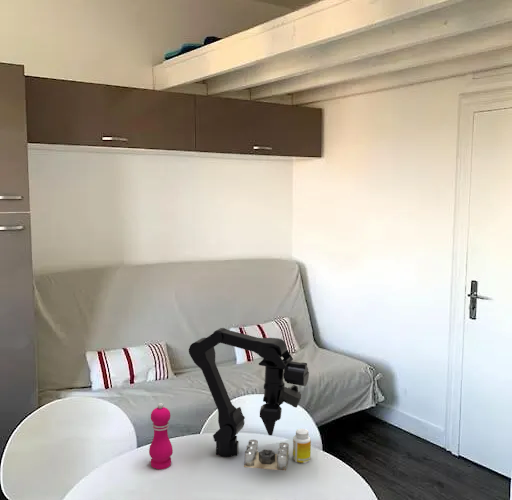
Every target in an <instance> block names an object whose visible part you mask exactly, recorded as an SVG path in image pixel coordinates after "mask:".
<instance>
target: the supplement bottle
mask: <svg viewBox="0 0 512 500" xmlns="http://www.w3.org/2000/svg"><path fill="white" fill-rule="evenodd" d="M311 438H312V437H310V436H309V430H308V429H306V428H298V429H296V430H295V435H294V436H293V438H292V461H294V462H295V463H297V464H307V463H309V462H311V451H312V449H311V447H312V446H311V445H312V439H311Z"/></svg>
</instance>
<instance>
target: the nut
mask: <svg viewBox="0 0 512 500" xmlns="http://www.w3.org/2000/svg"><path fill="white" fill-rule="evenodd" d="M258 452H259V461H260V462H261V463H262V464H269V465H270V464H272V463H273V462H275V454H276V453H275V452H274V451H273V450H272V449H262V450H261V451H258Z"/></svg>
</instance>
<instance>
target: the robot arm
mask: <svg viewBox="0 0 512 500" xmlns="http://www.w3.org/2000/svg"><path fill="white" fill-rule="evenodd" d="M219 344H224V345H227V346H231V347H234V348H238V349H241V350H246V351H248V352H249V351H250V352H253V353H255V354H257V355H258V356H259V357H260V358H263V359H262V360H261V361H259V363H258V366H260V367H261V366H262V367H265V368H264V383H263V389H264V390H263V391H264V392H263V398H262V399H263V400H262V401H263V402H264V403H263V404H262V405H261V406H260V409H259V417H260V419H261V421H262V423H263V425H264V427H265V430H266V432H267V435H268V436H273V434H274V430H275V425H276V422H278V421H280V420H281V418H282V407H281V405H282V404H284V403H285V404H288V405H290V406H291V407H293V408H297V407H298V405H299V404H300V401H301V399H302V393H301V392H300V391H299V386H301V387H306V386H307V385H308V383H309V376H310V371H309V367H308V363H307V362H298V361H294V358H293V357H292V355H291V354H290V351H289V350H288V348H287V344H286V342H285V340H283V339H282V338H277V337H258V336H257V337H256V336H253V335H248V334H245V333H241V332H238V331H234V330H230V329H227V328H225V327H220V328H218V329H217V330H215V331H213V333H212V334H209V336H207V337H201V338H200V339H198V340H196V341H195V342H193V343H191V344H190V345H189V347H188V354H189V356H190V358H191V360H192V362H193V363H194V364H195V365H196V366H197V367H198V368H199V369H200V370H201V372H202V374H203V376H204V379H205V382H206V384H207V386H208V389H209V391H210V394H211V396H212V399H213V402H214V403H215V404H214V405H215V406H216V409H217V412H218V417H217V418H218V419H217V420H218V421H217V422H218V426H219V429H218V430H216V432H215V433H214V434H213V435H212V437H213V440H214V442H215V455H217V456H219V457H223V458H231V457H237V456H238V455H239V453H240V452H239V445H240V443H239V440H238V436H237V435H238V434H239V432H240V431H241V430H242V429H243V428H244V427H245V419H246V416H244V414H243V412H242V408H241V406H239V407H236V406H235V405H234V404H232V403H233V402H232V401H231V399H230V397H229V396H230V395H229V394H228V391H227V388H226V386H225V384H224V381H223V379H222V377H221V373H220V371H219V369H218V366H217V364H216V349H215V347H216V346H217V345H219ZM282 358H283V359H282ZM285 382H286V383H285ZM285 384H290V385H292V386H291V387H287V386H285Z"/></svg>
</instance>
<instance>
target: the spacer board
mask: <svg viewBox="0 0 512 500" xmlns="http://www.w3.org/2000/svg"><path fill="white" fill-rule="evenodd" d="M259 452H260V451H258V454H257V455H256V460H255V464H254V466H246V465H245V464H244V465H243V467H244V468H251V469H252V468H253V469H261V470H262V469H264V470H273V471H274V470H276V471H280V470H279V469H277V454H278V453H275V462H273V463H272V464H270V465H269V464H262V463H261V462H260V461H259ZM284 471H285V472H286V471H287V468H286V469H285V470H284Z"/></svg>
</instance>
